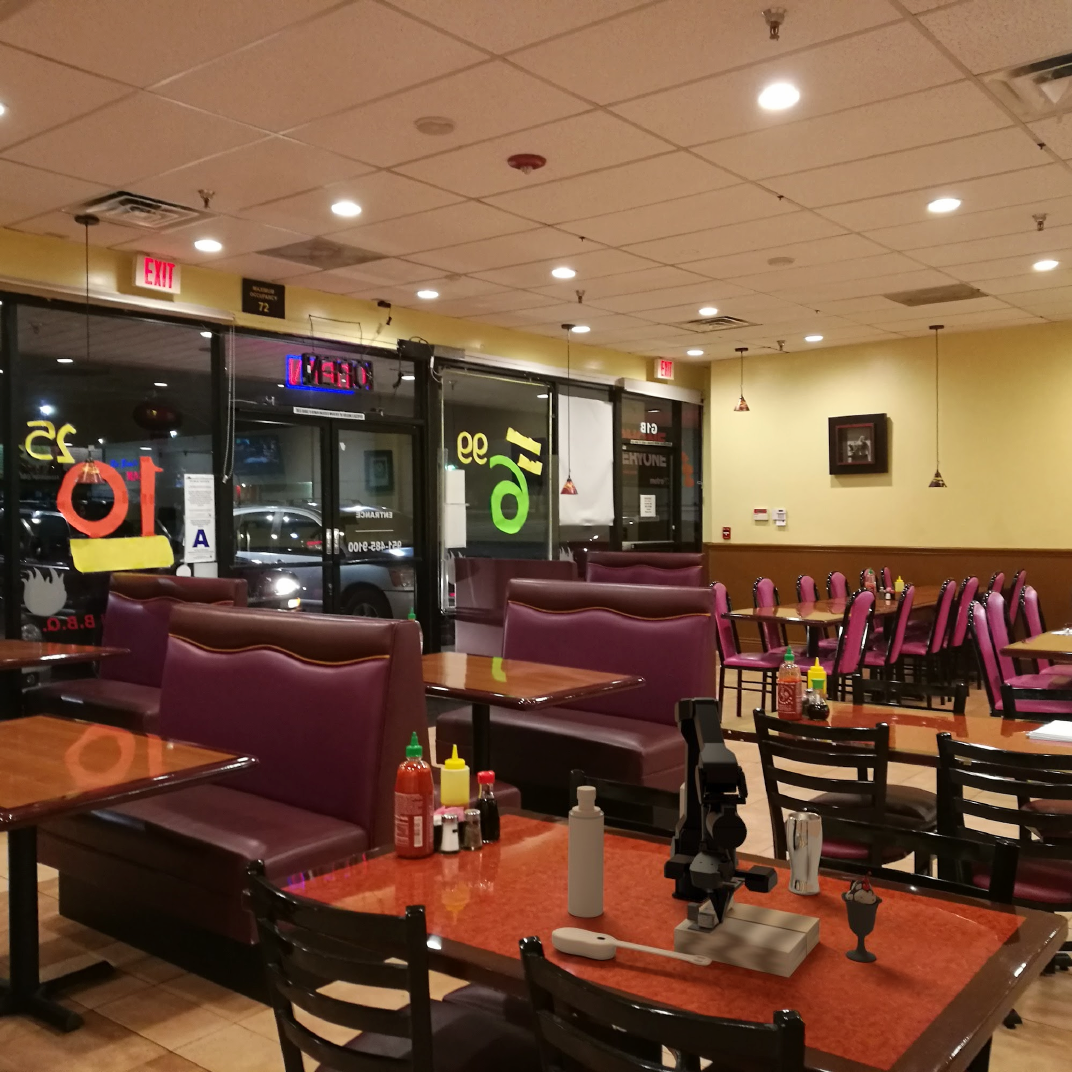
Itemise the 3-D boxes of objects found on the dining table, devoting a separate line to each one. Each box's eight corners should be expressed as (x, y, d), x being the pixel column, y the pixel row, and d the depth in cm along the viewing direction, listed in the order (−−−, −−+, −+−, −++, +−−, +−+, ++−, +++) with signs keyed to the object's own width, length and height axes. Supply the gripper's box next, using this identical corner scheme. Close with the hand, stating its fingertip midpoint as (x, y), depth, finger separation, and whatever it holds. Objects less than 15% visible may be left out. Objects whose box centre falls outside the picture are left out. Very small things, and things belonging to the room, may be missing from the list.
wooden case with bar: (674, 951, 179) (674, 913, 179) (712, 919, 195) (712, 884, 195) (788, 977, 169) (788, 937, 169) (819, 941, 185) (819, 904, 185)
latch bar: (720, 901, 191) (720, 887, 191) (735, 904, 190) (735, 889, 190) (697, 925, 179) (697, 910, 179) (712, 928, 178) (713, 913, 178)
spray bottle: (610, 911, 198) (611, 779, 198) (587, 920, 194) (588, 785, 194) (583, 902, 203) (584, 774, 203) (560, 911, 198) (561, 779, 198)
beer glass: (818, 885, 214) (819, 812, 214) (824, 896, 207) (825, 821, 207) (784, 883, 215) (784, 811, 215) (788, 895, 208) (789, 820, 208)
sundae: (876, 967, 173) (877, 877, 173) (836, 958, 177) (836, 870, 177) (886, 954, 179) (887, 866, 179) (846, 945, 182) (847, 860, 182)
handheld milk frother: (715, 972, 172) (715, 954, 172) (705, 985, 167) (706, 967, 167) (559, 939, 184) (559, 923, 184) (546, 951, 178) (546, 934, 178)
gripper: (650, 837, 177) (652, 929, 177) (756, 852, 168) (759, 949, 168) (675, 821, 187) (677, 908, 187) (777, 834, 178) (779, 925, 177)
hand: (720, 922), depth 179 cm, fingers closed
